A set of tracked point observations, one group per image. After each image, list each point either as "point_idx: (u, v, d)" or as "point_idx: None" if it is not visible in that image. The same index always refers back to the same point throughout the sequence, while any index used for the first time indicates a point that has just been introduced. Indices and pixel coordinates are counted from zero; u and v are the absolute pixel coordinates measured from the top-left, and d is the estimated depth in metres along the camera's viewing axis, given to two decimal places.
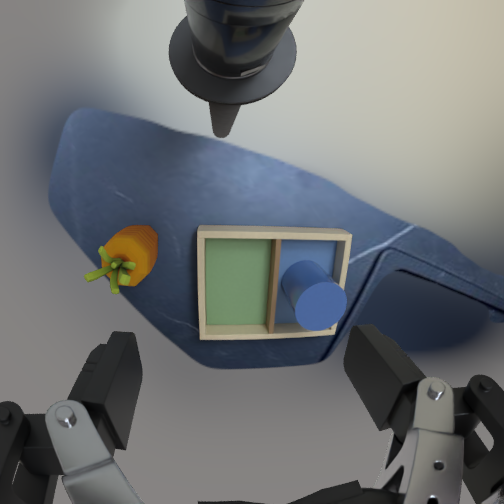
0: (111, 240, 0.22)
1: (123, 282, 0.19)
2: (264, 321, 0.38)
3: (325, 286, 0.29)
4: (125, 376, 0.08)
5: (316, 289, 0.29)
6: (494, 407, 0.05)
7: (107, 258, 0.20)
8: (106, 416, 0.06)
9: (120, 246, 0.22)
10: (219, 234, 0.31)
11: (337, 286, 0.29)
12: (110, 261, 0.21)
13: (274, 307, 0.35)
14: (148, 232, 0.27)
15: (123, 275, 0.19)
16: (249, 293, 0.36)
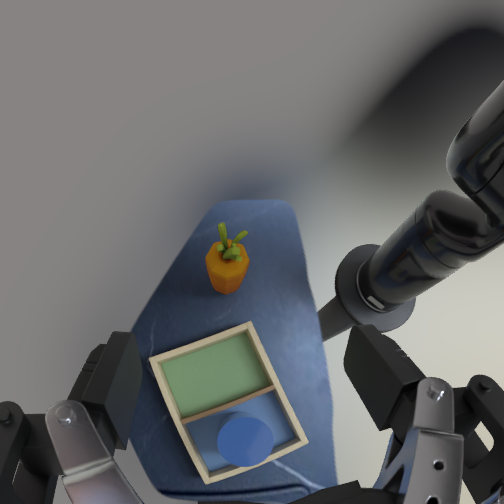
0: (240, 244, 0.32)
1: (234, 249, 0.27)
2: (185, 415, 0.32)
3: (267, 433, 0.26)
4: (125, 376, 0.08)
5: (261, 427, 0.26)
6: (494, 407, 0.05)
7: (239, 238, 0.29)
8: (106, 416, 0.06)
9: (241, 251, 0.31)
10: (256, 338, 0.35)
11: (272, 444, 0.25)
12: (235, 242, 0.30)
13: (210, 413, 0.30)
14: (243, 277, 0.35)
15: (239, 248, 0.27)
16: (208, 390, 0.34)
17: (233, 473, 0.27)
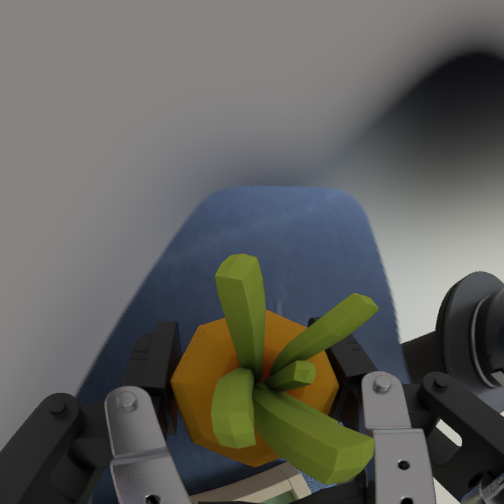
0: None
1: (345, 465, 0.03)
2: None
3: None
4: (174, 362, 0.08)
5: None
6: (456, 405, 0.05)
7: (334, 340, 0.05)
8: (164, 400, 0.07)
9: (316, 363, 0.07)
10: None
11: None
12: (307, 353, 0.05)
13: None
14: None
15: (372, 446, 0.03)
16: None
17: None
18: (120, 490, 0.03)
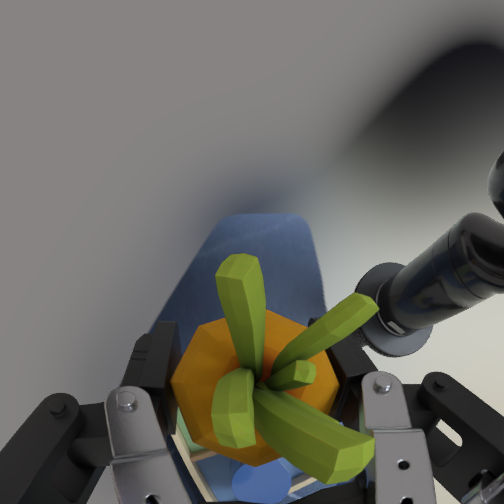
0: None
1: (345, 464, 0.03)
2: (194, 451, 0.28)
3: (285, 474, 0.22)
4: (174, 362, 0.08)
5: (278, 469, 0.22)
6: (456, 405, 0.05)
7: (334, 339, 0.05)
8: (163, 400, 0.07)
9: (316, 363, 0.07)
10: None
11: (289, 484, 0.21)
12: (307, 353, 0.05)
13: None
14: None
15: (372, 445, 0.03)
16: None
17: None
18: (120, 490, 0.03)
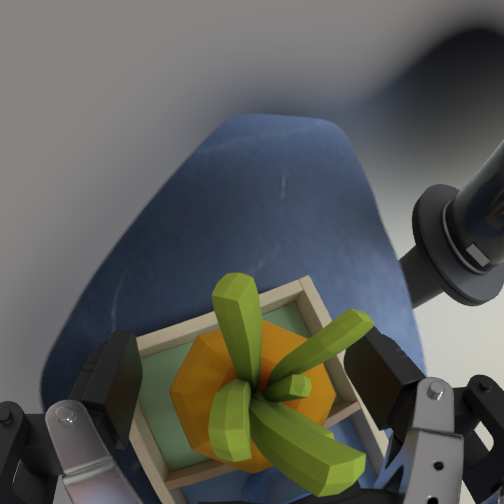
0: (304, 339, 0.08)
1: (336, 479, 0.03)
2: (175, 467, 0.14)
3: None
4: (125, 376, 0.08)
5: None
6: (494, 407, 0.05)
7: (329, 355, 0.05)
8: (106, 416, 0.06)
9: (312, 373, 0.07)
10: (321, 309, 0.17)
11: None
12: (303, 367, 0.05)
13: (229, 469, 0.12)
14: None
15: (363, 461, 0.03)
16: None
17: None
18: None
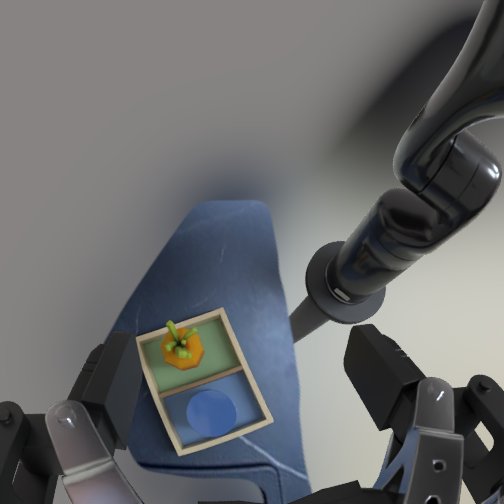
0: (194, 333, 0.30)
1: (180, 353, 0.25)
2: (163, 392, 0.36)
3: (231, 406, 0.30)
4: (125, 376, 0.08)
5: (225, 400, 0.30)
6: (494, 407, 0.05)
7: (188, 336, 0.27)
8: (106, 416, 0.06)
9: (194, 342, 0.29)
10: (227, 323, 0.40)
11: (235, 417, 0.30)
12: (185, 338, 0.28)
13: (184, 389, 0.35)
14: (201, 358, 0.33)
15: (185, 352, 0.25)
16: None
17: (204, 446, 0.31)
18: None
